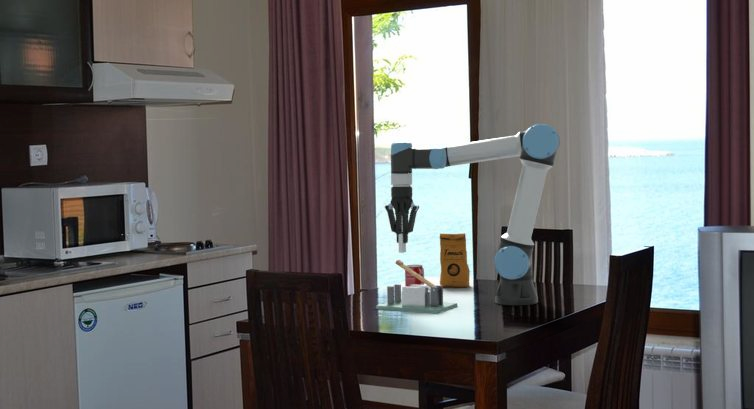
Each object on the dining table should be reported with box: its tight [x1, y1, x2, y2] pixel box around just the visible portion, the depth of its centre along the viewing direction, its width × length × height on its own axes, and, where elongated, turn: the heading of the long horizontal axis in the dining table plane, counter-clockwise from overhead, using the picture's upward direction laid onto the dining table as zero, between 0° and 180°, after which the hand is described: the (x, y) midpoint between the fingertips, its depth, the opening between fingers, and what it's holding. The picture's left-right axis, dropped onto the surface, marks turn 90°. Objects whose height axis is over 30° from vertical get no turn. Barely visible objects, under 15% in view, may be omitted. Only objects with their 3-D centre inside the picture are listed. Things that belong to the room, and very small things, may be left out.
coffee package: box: [439, 232, 471, 288], centre depth 381 cm, size 10×12×22 cm
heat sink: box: [401, 284, 431, 307], centre depth 328 cm, size 9×9×6 cm
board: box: [375, 299, 458, 314], centre depth 328 cm, size 24×16×1 cm, turn 60°
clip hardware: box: [386, 283, 444, 307], centre depth 328 cm, size 19×7×8 cm, turn 60°
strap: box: [395, 259, 436, 287], centre depth 328 cm, size 17×2×1 cm, turn 60°
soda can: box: [404, 264, 425, 287], centre depth 346 cm, size 7×7×13 cm
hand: (402, 252), depth 330 cm, fingers closed
